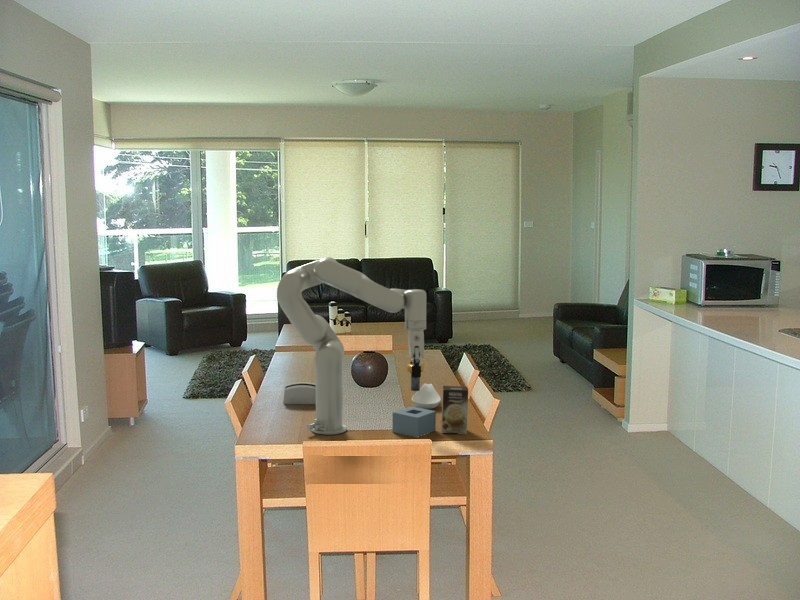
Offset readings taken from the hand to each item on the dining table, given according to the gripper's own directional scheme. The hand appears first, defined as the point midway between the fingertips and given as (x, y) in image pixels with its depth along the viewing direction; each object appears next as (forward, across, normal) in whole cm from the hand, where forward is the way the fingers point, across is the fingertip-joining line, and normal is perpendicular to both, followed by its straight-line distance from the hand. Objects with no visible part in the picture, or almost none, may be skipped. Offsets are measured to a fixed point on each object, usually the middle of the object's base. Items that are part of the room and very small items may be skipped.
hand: (415, 374), depth 274 cm
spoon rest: (+21, +39, -8) cm, 45 cm away
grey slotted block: (+21, +41, +42) cm, 62 cm away
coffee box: (+21, -1, -14) cm, 25 cm away
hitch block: (+21, 0, 0) cm, 21 cm away
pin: (+6, 0, 0) cm, 6 cm away
